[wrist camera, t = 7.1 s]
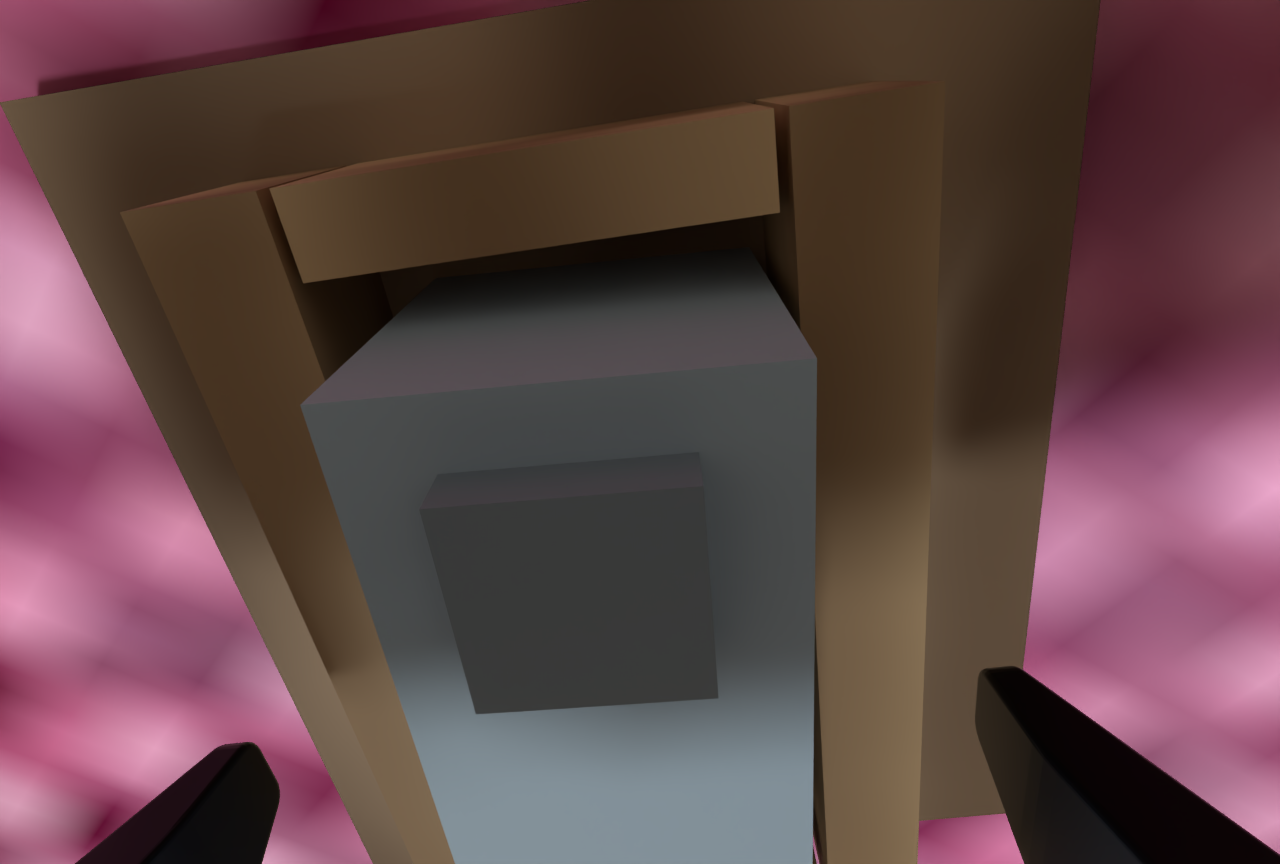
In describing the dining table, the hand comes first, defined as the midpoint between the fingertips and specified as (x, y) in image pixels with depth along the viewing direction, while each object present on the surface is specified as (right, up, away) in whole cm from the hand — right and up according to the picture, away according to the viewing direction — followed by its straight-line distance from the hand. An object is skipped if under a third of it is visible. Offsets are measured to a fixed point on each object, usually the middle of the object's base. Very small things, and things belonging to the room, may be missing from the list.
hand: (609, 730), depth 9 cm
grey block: (0, +2, +4) cm, 4 cm away
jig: (0, +2, +4) cm, 5 cm away
